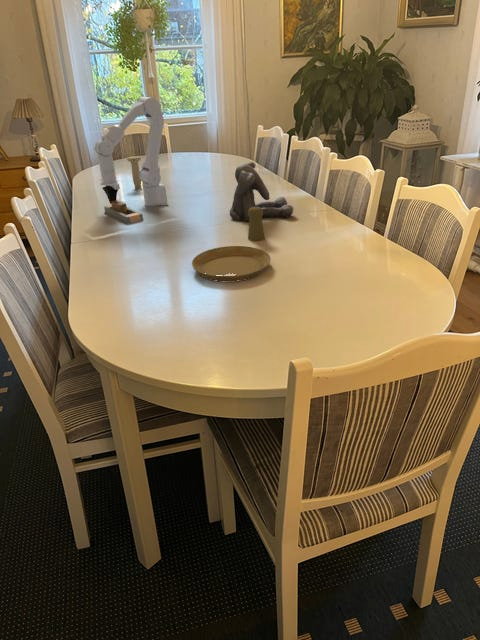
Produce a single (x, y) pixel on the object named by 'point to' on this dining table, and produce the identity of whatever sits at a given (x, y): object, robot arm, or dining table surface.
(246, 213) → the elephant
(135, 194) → the dining table surface
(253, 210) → the cork
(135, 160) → the handle
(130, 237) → the dining table surface
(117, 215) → the rail
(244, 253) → the plant saucer
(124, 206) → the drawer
